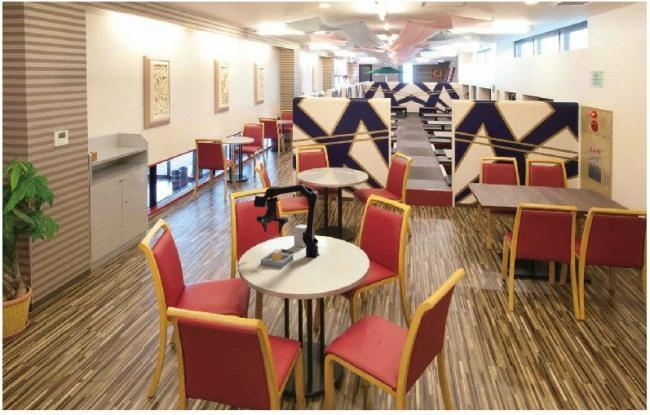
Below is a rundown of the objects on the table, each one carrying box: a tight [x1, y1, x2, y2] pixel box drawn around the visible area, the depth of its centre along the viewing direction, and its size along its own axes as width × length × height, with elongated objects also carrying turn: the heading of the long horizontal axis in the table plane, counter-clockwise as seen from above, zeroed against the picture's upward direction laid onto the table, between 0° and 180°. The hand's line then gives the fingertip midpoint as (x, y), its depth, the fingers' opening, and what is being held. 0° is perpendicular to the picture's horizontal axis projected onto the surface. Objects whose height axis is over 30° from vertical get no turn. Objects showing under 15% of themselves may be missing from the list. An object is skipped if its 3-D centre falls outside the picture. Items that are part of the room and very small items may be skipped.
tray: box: [260, 251, 294, 269], centre depth 300 cm, size 14×14×3 cm
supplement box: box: [293, 223, 307, 249], centre depth 328 cm, size 7×7×13 cm
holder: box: [279, 248, 293, 255], centre depth 314 cm, size 8×10×1 cm
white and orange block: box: [272, 248, 283, 261], centre depth 300 cm, size 4×6×6 cm, turn 159°
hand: (272, 233), depth 312 cm, fingers open, 9 cm apart
